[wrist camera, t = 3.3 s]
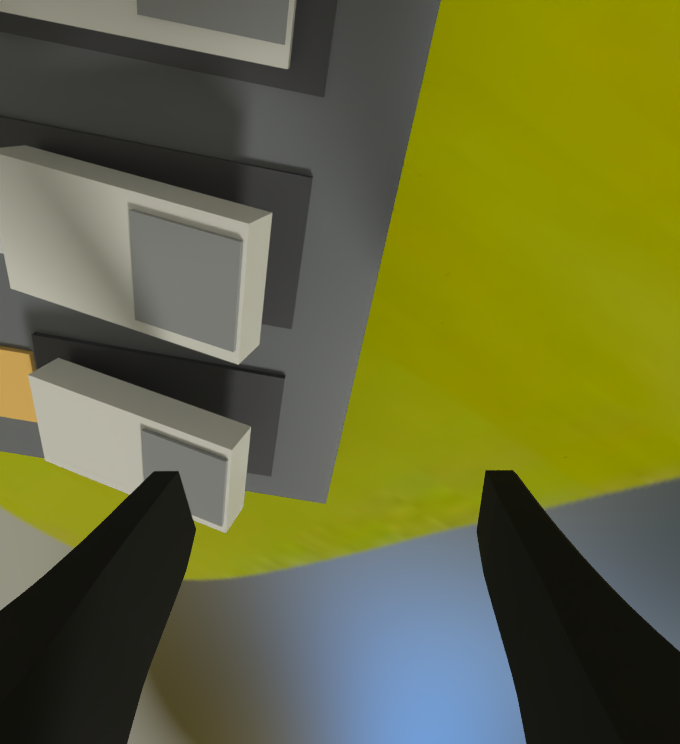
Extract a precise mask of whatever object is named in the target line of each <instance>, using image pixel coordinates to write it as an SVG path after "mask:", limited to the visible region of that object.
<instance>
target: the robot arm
mask: <svg viewBox="0 0 680 744" xmlns="http://www.w3.org/2000/svg"><path fill="white" fill-rule="evenodd" d="M195 532H196V528H195V525H194V521H193V518H192V514H191V511H190V508H189V504H188V501H187V497H186V494H185V491H184V487H183V484H182V481H181V477H180V474H179V471H154V472H153V473H151V474H150V475H149V476H148V477H147V478H146V479H145V480H144V481H143V482H142V483H141V484H140V485H139V486H138V487H137V488H136V489H135V490H134V491H133V492H132V493H131V494H130V495H129V496H128V497H127V498H126V499H125V500H124V501H123V502H122V503H121V504H120V505H119V506H118V507H117V508H116V509H115V510H114V511H113V512H112V513H111V514H110V515H109V516H108V517H107V518H106V519H105V520H104V521H103V522H102V523H101V524H100V525H99V526H98V527H97V528H95V529H94V530H93V531H92V532H91V533H90V534H89V535H88V536H87V537H86V538H85V539H84V540H83V541H82V542H81V543H80V544H79V545H78V546H76V547H75V548H74V549H73V550H72V551H71V552H70V553H69V554H68V555H66V556H65V557H64V558H63V559H62V560H61V561H60V562H59V563H57V564H56V565H55V566H54V567H53V568H52V569H51V570H50V571H48V572H47V573H46V574H45V575H44V576H43V577H42V578H40V579H39V580H38V581H37V582H36V583H35V584H33V585H32V586H31V587H30V588H28V589H27V590H26V591H25V592H23V593H22V594H21V595H20V596H19V597H17V598H16V599H15V600H13V601H12V602H11V603H10V604H8V605H7V606H6V607H4V608H3V609H2V610H1V611H0V744H127V742H128V738H129V734H130V731H131V727H132V723H133V720H134V716H135V713H136V709H137V706H138V702H139V699H140V695H141V691H142V688H143V685H144V682H145V679H146V676H147V673H148V670H149V667H150V665H151V662H152V659H153V657H154V654H155V651H156V649H157V646H158V644H159V641H160V638H161V636H162V633H163V630H164V628H165V625H166V623H167V620H168V617H169V615H170V612H171V610H172V607H173V604H174V602H175V599H176V596H177V594H178V591H179V588H180V586H181V582H182V580H183V578H184V575H185V572H186V569H187V565H188V561H189V557H190V553H191V549H192V545H193V541H194V536H195ZM477 537H478V543H479V550H480V556H481V562H482V567H483V573H484V577H485V581H486V585H487V588H488V592H489V595H490V599H491V602H492V606H493V610H494V613H495V616H496V620H497V623H498V627H499V631H500V634H501V638H502V641H503V644H504V648H505V651H506V655H507V658H508V662H509V666H510V669H511V673H512V677H513V681H514V685H515V689H516V693H517V697H518V702H519V707H520V712H521V718H522V723H523V728H524V733H525V738H526V743H527V744H680V652H679V651H678V650H677V649H676V648H675V647H674V646H673V645H672V644H670V643H669V642H668V641H667V640H666V639H665V638H664V637H663V636H662V635H660V634H659V633H658V632H657V631H656V630H655V629H654V628H653V627H652V626H651V625H650V624H649V623H647V622H646V621H645V620H644V619H643V618H642V617H641V616H640V615H639V614H638V613H637V612H636V611H635V610H633V608H632V607H630V605H628V603H627V602H626V601H625V600H623V598H622V597H621V596H620V595H619V594H618V593H617V592H616V591H615V590H613V588H612V587H611V586H610V585H609V584H608V583H607V582H606V581H605V580H604V579H603V578H602V577H601V576H600V575H599V573H598V572H597V571H596V570H595V569H594V568H593V567H592V566H591V565H590V564H589V563H588V562H587V560H586V559H585V558H584V557H583V556H582V555H581V554H580V553H579V551H578V550H577V549H576V548H575V547H574V546H573V545H572V543H571V542H570V541H569V540H568V539H567V538H566V536H565V535H564V534H563V533H562V532H561V530H559V528H558V527H557V526H556V524H555V523H554V522H553V521H552V520H551V518H550V517H549V516H548V514H547V513H546V512H545V511H544V509H543V508H542V507H541V506H540V504H539V503H538V502H537V500H536V499H535V498H534V496H533V495H532V494H531V493H530V491H529V490H528V489H527V487H526V486H525V485H524V483H523V482H522V481H521V479H520V478H519V476H518V475H517V474H516V473H515V472H514V471H513V470H486V472H485V478H484V485H483V492H482V499H481V505H480V512H479V519H478V526H477Z"/></svg>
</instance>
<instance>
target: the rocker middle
mask: <svg viewBox="0 0 680 744" xmlns="http://www.w3.org/2000/svg"><path fill="white" fill-rule="evenodd" d="M271 222H272V212H268V211H265V210H261V209H257V208H254V207H250V206H246V205H243V204H239V203H235V202H232V201H228V200H224V199H221V198H217V197H213V196H210V195H206V194H202V193H199V192H195V191H191V190H188V189H184V188H180V187H177V186H173V185H169V184H166V183H162V182H158V181H155V180H151V179H147V178H144V177H140V176H136V175H133V174H129V173H125V172H122V171H118V170H114V169H111V168H107V167H103V166H100V165H96V164H92V163H89V162H85V161H81V160H78V159H74V158H70V157H67V156H63V155H59V154H56V153H52V152H48V151H45V150H41V149H37V148H34V147H30V146H26V145H22V146H12V147H2V148H0V238H1V243H2V248H3V253H4V258H5V263H6V268H7V273H8V278H9V283H10V288H11V289H14V290H17V291H20V292H23V293H26V294H29V295H32V296H35V297H38V298H41V299H44V300H47V301H50V302H53V303H55V304H58V305H61V306H64V307H67V308H70V309H73V310H76V311H79V312H82V313H85V314H88V315H91V316H94V317H97V318H100V319H103V320H106V321H109V322H112V323H115V324H118V325H121V326H124V327H127V328H130V329H133V330H136V331H139V332H142V333H145V334H148V335H151V336H154V337H157V338H160V339H163V340H166V341H169V342H172V343H175V344H178V345H181V346H184V347H187V348H190V349H193V350H196V351H199V352H202V353H205V354H208V355H211V356H214V357H217V358H220V359H223V360H226V361H229V362H232V363H235V364H238V365H239V364H240V363H241V362H242V361H243V360H244V359H245V358H246V357H247V356H248V355H249V354H250V353H251V352H252V351H253V350H254V349H255V348H256V347H257V346H259V343H260V333H261V323H262V313H263V303H264V293H265V283H266V272H267V262H268V252H269V242H270V232H271Z"/></svg>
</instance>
